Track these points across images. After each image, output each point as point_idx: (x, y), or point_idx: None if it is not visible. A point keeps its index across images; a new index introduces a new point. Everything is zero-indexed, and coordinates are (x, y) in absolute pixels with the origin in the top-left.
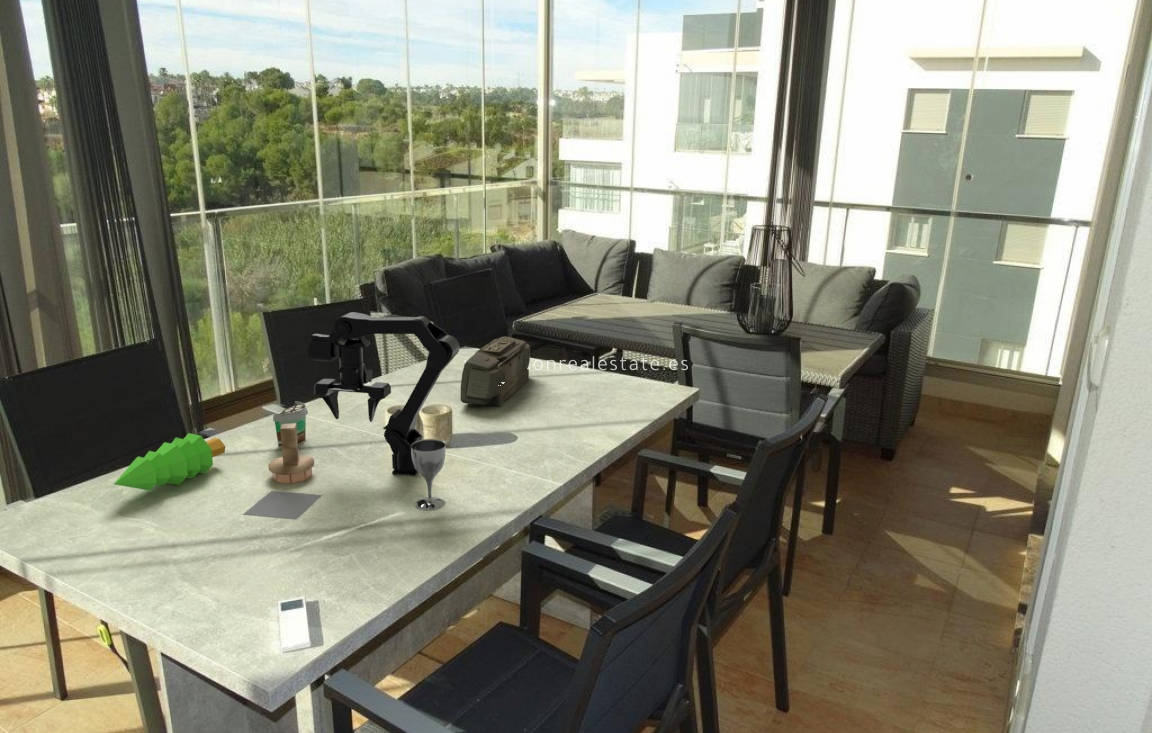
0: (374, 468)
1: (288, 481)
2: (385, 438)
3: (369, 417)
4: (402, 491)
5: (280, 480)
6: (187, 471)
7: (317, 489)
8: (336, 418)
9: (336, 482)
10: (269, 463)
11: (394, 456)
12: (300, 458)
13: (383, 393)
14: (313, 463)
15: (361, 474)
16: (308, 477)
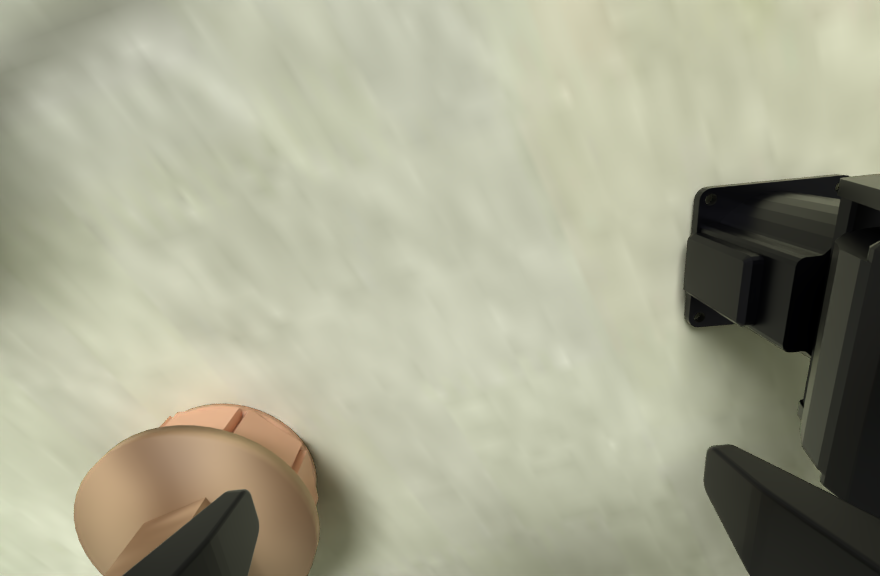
0: (560, 276)
1: None
2: (811, 453)
3: (760, 573)
4: (785, 468)
5: None
6: None
7: (414, 536)
8: (248, 542)
9: (454, 465)
10: (96, 565)
11: (753, 329)
12: (194, 477)
13: None
14: (306, 504)
15: (526, 362)
16: (314, 481)
